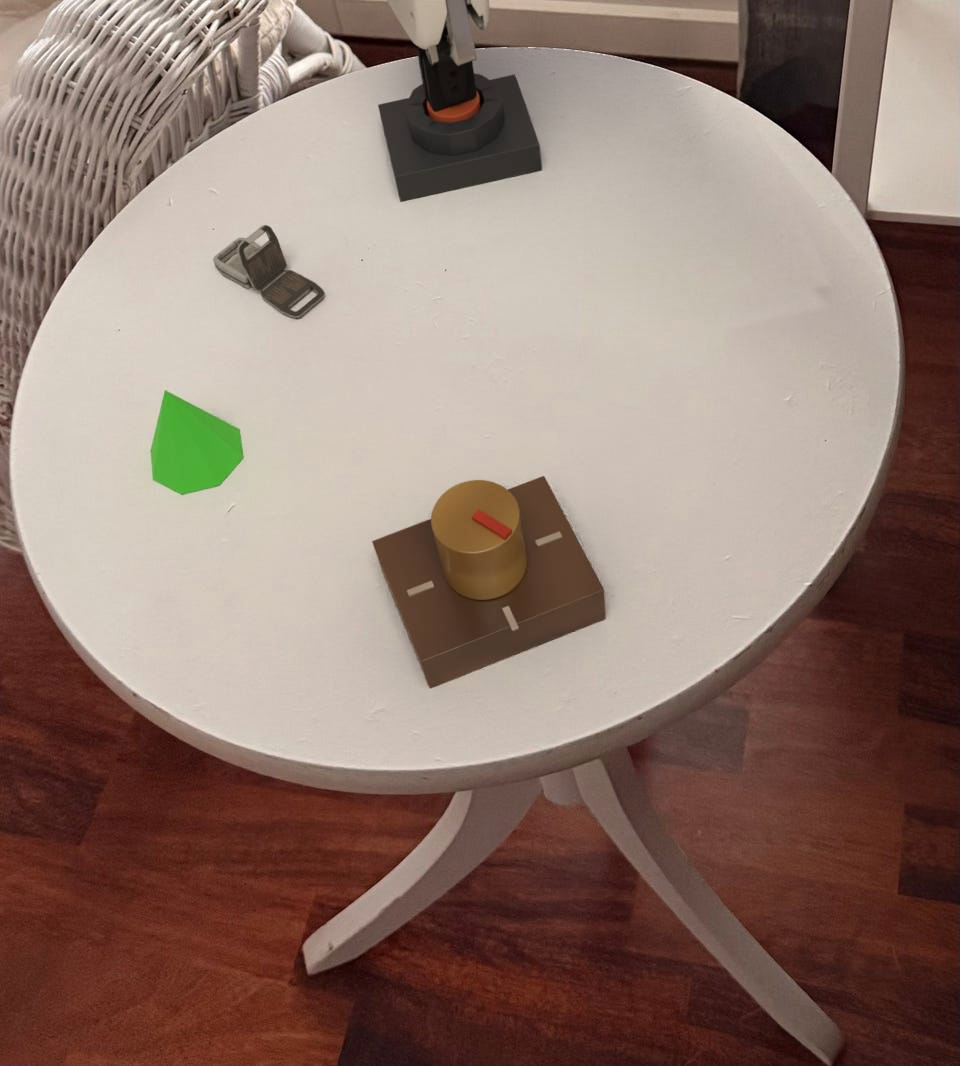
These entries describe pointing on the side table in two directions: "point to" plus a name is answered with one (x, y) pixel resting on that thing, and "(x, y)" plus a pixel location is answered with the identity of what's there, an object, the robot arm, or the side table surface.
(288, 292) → the strap clip
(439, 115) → the button
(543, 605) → the panel
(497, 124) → the button box
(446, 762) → the side table surface
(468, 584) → the knob
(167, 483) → the gemstone
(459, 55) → the robot arm
